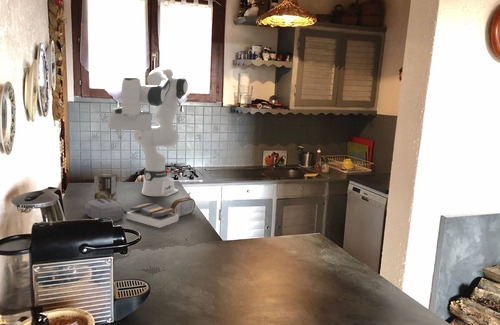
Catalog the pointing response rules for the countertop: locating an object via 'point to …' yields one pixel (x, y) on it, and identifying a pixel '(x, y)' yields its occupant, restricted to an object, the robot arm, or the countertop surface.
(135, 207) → the rocker
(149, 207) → the rocker
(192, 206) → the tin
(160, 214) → the flat block
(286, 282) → the countertop surface
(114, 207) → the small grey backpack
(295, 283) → the countertop surface
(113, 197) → the coffee box
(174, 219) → the white rectangular tray
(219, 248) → the countertop surface
